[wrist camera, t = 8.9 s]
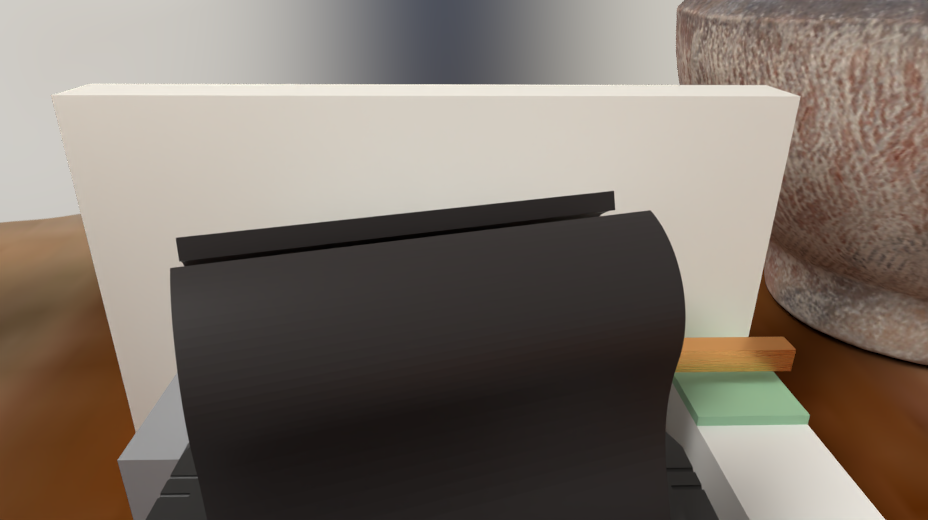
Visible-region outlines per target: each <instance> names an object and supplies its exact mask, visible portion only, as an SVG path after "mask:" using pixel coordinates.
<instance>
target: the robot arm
mask: <svg viewBox="0 0 928 520" xmlns="http://www.w3.org/2000/svg"><path fill="white" fill-rule="evenodd" d="M665 453H666V470H667V482H668V494H669V506H670V518H671V520H719V518H718V516H717V514H716V512H715V510H714V509H713V507H712V505H711V503H710V501H709V499H708V497H707V495H706V493H705V491H704V490H702V485H701V483H700V481H699V479H698V477H697V475H696V473H695V472H693V467H692V465H691V463H690V461H689V459H688V457H687V455H686V453H685V451H684V449H683V447H682V446H681V445H680V444H679V443H678V442H677V441H676V440H675V439H673V438H672V437H671V436H670V435H669V434H668V433H667V432H666V431H665ZM146 520H207V518H206V513H205V508H204V503H203V498H202V494H201V489H200V485H199V481H198V477H197V473H196V469H195V465H194V461H193V457H192V453H191V449H190V447H189V448H188V449H187V450H186V451H185V452H184V453H182V455H181V457H180V459H179V461H178V462H177V464H176V466H175V468H174V470H173V471H172V473H171V475H170V480H167V482H166V484H165V486H164V487H163V489H162V491H161V493H160V498H157V500H156V502H155V504H154V505H153V507H152V509H151V511H150V512H149V514H148V516H147V518H146Z"/></svg>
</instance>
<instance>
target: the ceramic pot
mask: <svg viewBox="0 0 928 520" xmlns="http://www.w3.org/2000/svg"><path fill="white" fill-rule="evenodd" d="M676 57H677V68H678V76H679V83H680V85H767V86H770V87H773V88H776V89H780V90H783V91H786V92H789V93H792V94H795V95H798V96H801V97H800V101H799V106H798V110H797V115H796V120H795V124H794V129H793V134H792V138H791V143H790V147H789V152H788V157H787V161H786V166H785V170H784V175H783V180H782V184H781V189H780V194H779V198H778V203H777V207H776V212H775V217H774V221H773V226H772V230H771V235H770V240H769V244H768V250H767V255H766V261H765V269H764V276H765V282H766V285H767V288H768V290H769V292H770V293H771V295H772V296H773V298H774V299H775V300H776V301H777V302H778V303H779V304H780V305H781V306H782V307H783V308H785V309H786V310H787V311H788V312H789V313H790V314H791V315H793V316H794V317H796V318H797V319H798V320H800V321H801V322H803V323H805V324H807V325H808V326H810V327H812V328H814V329H816V330H818V331H820V332H823V333H825V334H827V335H829V336H831V337H834V338H836V339H838V340H841V341H843V342H846V343H848V344H851V345H854V346H856V347H859V348H862V349H864V350H868V351H872V352H876V353H880V354H883V355H886V356H890V357H893V358H897V359H901V360H905V361H909V362H913V363H918V364H923V365H928V0H684V2H682V3H681V4H680V5H679V6H678V8H677V26H676Z"/></svg>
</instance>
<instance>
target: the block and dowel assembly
mask: <svg viewBox="0 0 928 520" xmlns="http://www.w3.org/2000/svg"><path fill="white" fill-rule="evenodd" d="M795 353H796V349H795V348H794V347H793V346H792V345H791V344H790V343H789V342H788V341H787V340H786V338H785V337H699V338H684V342H683V347H682V352H681V355H680V358H679V361H678V364H677V367H676V370H675V372H755V371H791V368H792V364H793V360H794V356H795Z"/></svg>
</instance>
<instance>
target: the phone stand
mask: <svg viewBox="0 0 928 520" xmlns="http://www.w3.org/2000/svg"><path fill="white" fill-rule="evenodd" d="M612 210H615V198H614V191H607V192H598V193H589V194H579V195H570V196H561V197H551V198H542V199H533V200H523V201H514V202H505V203H495V204H486V205H477V206H467V207H458V208H449V209H439V210H430V211H421V212H411V213H402V214H393V215H383V216H374V217H365V218H355V219H346V220H337V221H327V222H318V223H309V224H299V225H290V226H281V227H271V228H262V229H253V230H243V231H234V232H225V233H215V234H206V235H197V236H187V237H178V238H176V244H177V250H178V257H179V262H180V261H181V262H182V263H183V265H184V266H182V267H174V268H170V295H171V313H172V326H173V337H174V347H175V356H176V365H177V373H178V380H179V387H180V394H181V401H182V407H183V413H184V419H185V424H186V429H187V434H188V439H189V444H190V449H191V453H192V457H193V461H194V465H195V469H196V473H197V477H198V481H199V485H200V489H201V494H202V498H203V503H204V508H205V513H206V518H207V520H671V518H670V506H669V494H668V482H667V470H666V453H665V431H666V416H667V407H668V400H669V394H670V390H671V385H672V381H673V377H674V374H675V370H676V367H677V364H678V361H679V358H680V355H681V352H682V347H683V342H684V335H685V323H686V311H685V297H684V289H683V283H682V278H681V273H680V269H679V265H678V262H677V259H676V256H675V253H674V250H673V248H672V245H671V243H670V241H669V238H668V236H667V234H666V232H665V230H664V229H663V227H662V225H661V224H660V222H659V221H658V219H657V218H656V216H655V215H654V214H653V212H652V211H651V210H648V211H640V212H632V213H623V214H615V215H607V216H600V215H602V214H603V213H605V212H608V211H612Z"/></svg>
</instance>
